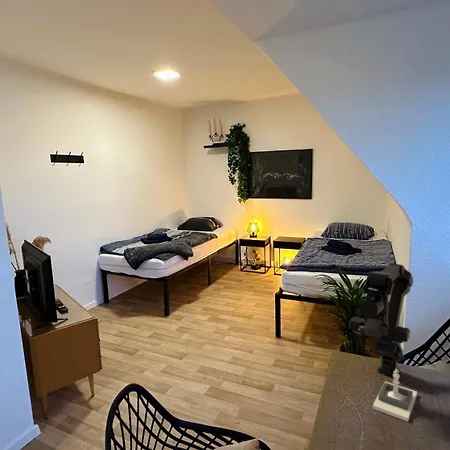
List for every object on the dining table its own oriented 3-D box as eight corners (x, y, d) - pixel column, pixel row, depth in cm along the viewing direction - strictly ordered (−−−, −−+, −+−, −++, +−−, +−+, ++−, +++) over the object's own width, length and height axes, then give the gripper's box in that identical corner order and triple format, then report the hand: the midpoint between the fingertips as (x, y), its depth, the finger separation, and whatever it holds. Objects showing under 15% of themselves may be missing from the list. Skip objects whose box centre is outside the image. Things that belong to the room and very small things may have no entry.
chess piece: (407, 401, 106) (408, 372, 105) (394, 403, 105) (395, 374, 103) (396, 392, 110) (397, 364, 109) (383, 394, 109) (384, 366, 108)
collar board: (384, 384, 117) (385, 376, 116) (416, 394, 111) (417, 386, 110) (372, 408, 104) (372, 399, 104) (407, 421, 98) (408, 412, 98)
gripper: (343, 310, 112) (343, 353, 114) (404, 323, 101) (402, 370, 102) (354, 301, 121) (353, 341, 123) (411, 312, 109) (409, 356, 111)
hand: (377, 351), depth 114 cm, fingers open, 9 cm apart
